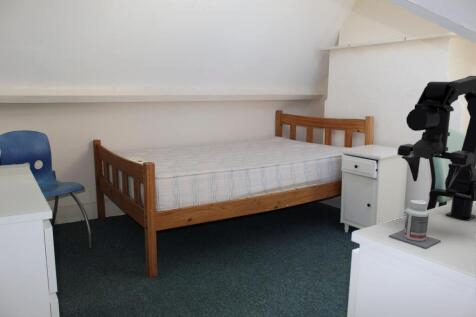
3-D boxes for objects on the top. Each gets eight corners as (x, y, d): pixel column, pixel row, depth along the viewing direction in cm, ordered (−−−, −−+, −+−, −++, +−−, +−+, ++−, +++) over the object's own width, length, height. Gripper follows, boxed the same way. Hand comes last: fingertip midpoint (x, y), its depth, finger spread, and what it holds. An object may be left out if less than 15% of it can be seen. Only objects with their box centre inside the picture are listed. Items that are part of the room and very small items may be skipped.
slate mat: (404, 230, 114) (404, 229, 114) (440, 241, 107) (440, 240, 106) (388, 236, 109) (388, 235, 109) (425, 249, 101) (426, 247, 101)
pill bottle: (430, 239, 107) (434, 202, 105) (417, 243, 104) (422, 205, 102) (411, 232, 111) (415, 197, 110) (399, 236, 108) (402, 200, 107)
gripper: (389, 127, 114) (385, 182, 117) (460, 134, 100) (453, 196, 103) (409, 124, 121) (404, 176, 124) (478, 131, 107) (471, 189, 110)
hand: (431, 184), depth 115 cm, fingers open, 9 cm apart
